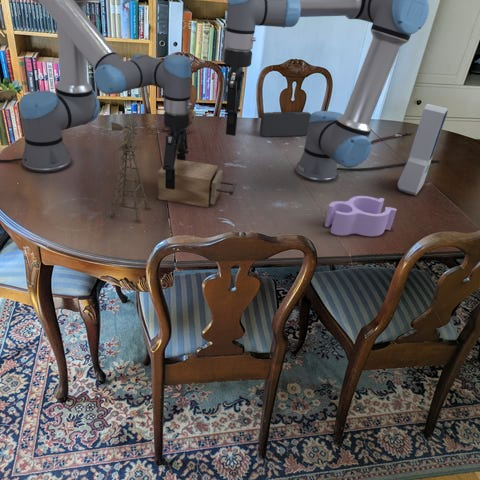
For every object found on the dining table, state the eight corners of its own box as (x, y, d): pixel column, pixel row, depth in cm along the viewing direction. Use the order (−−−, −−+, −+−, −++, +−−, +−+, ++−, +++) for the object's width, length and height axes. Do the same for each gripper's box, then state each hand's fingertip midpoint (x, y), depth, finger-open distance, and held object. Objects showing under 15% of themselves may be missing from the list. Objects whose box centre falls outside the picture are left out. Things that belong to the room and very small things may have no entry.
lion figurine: (193, 128, 201) (194, 107, 196) (196, 133, 197) (197, 112, 192) (159, 129, 196) (159, 108, 192) (162, 134, 192) (162, 112, 187)
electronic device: (415, 196, 164) (443, 113, 148) (394, 190, 167) (419, 107, 151) (423, 185, 173) (451, 105, 157) (404, 179, 176) (428, 100, 160)
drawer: (236, 193, 152) (239, 172, 148) (231, 207, 144) (233, 185, 140) (177, 183, 154) (177, 162, 150) (168, 197, 146) (168, 175, 142)
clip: (337, 240, 135) (342, 219, 131) (318, 218, 145) (322, 198, 141) (395, 233, 141) (402, 213, 137) (373, 213, 151) (378, 194, 147)
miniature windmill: (137, 222, 133) (134, 119, 117) (109, 216, 134) (102, 114, 118) (149, 207, 141) (147, 109, 125) (122, 202, 142) (117, 104, 126)
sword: (407, 132, 223) (408, 129, 223) (413, 134, 221) (413, 131, 221) (364, 143, 208) (365, 141, 207) (370, 146, 206) (370, 143, 205)
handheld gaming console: (306, 133, 210) (309, 111, 204) (308, 135, 207) (312, 113, 202) (258, 134, 202) (261, 112, 197) (260, 137, 200) (263, 114, 195)
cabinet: (215, 191, 154) (217, 165, 149) (207, 207, 145) (209, 180, 139) (168, 184, 155) (169, 157, 150) (158, 199, 146) (158, 171, 141)
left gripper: (177, 127, 126) (176, 198, 138) (199, 103, 145) (196, 167, 157) (151, 122, 127) (151, 194, 138) (176, 99, 146) (174, 164, 158)
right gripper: (248, 55, 118) (239, 144, 131) (255, 46, 129) (246, 129, 142) (219, 51, 119) (213, 139, 131) (229, 43, 130) (222, 125, 142)
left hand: (175, 180), depth 148 cm, fingers closed on cabinet, 11 cm apart
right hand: (230, 134), depth 136 cm, fingers closed
